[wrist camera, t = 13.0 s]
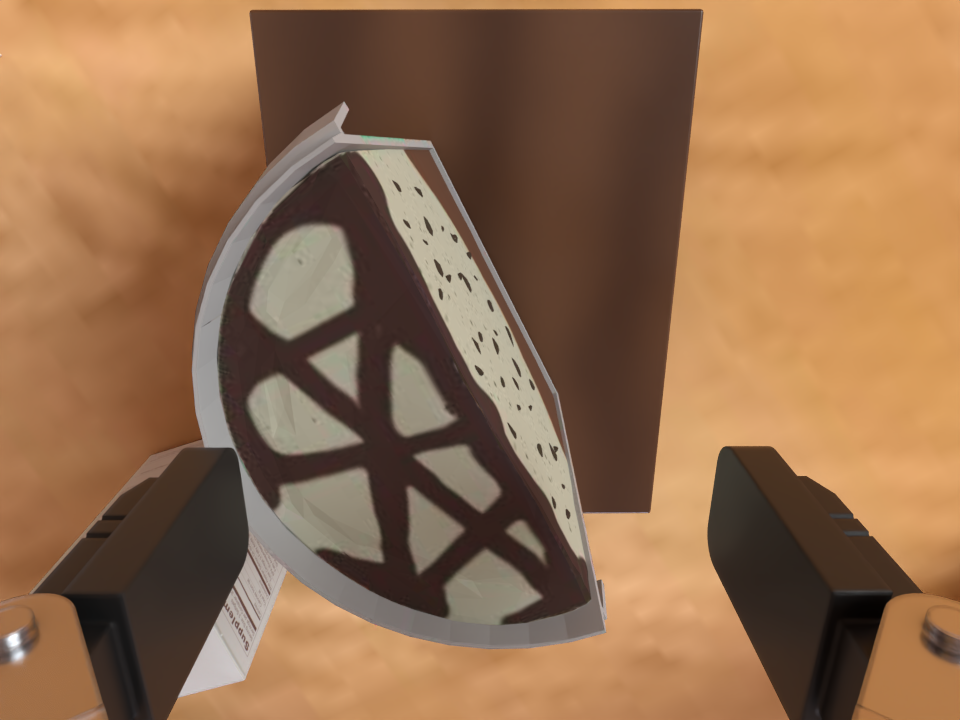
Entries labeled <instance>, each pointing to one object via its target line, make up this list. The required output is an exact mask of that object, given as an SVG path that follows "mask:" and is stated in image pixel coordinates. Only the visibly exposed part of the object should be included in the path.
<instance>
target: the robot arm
mask: <svg viewBox="0 0 960 720" xmlns="http://www.w3.org/2000/svg"><path fill="white" fill-rule="evenodd" d="M248 545H249V527H248V519H247V513H246V506H245V499H244V493H243V486H242V479H241V473H240V466H239V460H238V456H237V454H236V452H235V450H234V449H233V448H230V447H187V448H184V449H182V450H181V451H180V452H179V453H178V455H177V456H176V457H175V458H174V459H173V461H172V462H171V463H170V464H169V465H168V467H167V468H166V469H165V470H164V471H163V473H162V474H161V475H160V476H159V477H149V478H148V479H146V480H144V481H143V482H141V483H140V484H138V485H136V486H135V487H133V488H131V489H130V490H128V491H127V492H125V493H123V494H122V495H120V496H119V498H118V499H117V500H116V501H115V502H114V503H113V504H112V505H111V506H110V508H109V509H108V510H107V511H106V512H105V513H104V514H103V515H102V520H98V521H97V522H96V523H95V524H94V525H93V527H92V528H91V529H90V530H89V531H88V532H87V533H86V538H82V539H81V540H80V541H79V542H78V543H77V544H76V546H75V547H74V548H73V549H72V550H71V551H70V552H69V553H68V555H67V556H66V557H65V558H64V559H63V560H62V561H61V562H60V563H59V565H58V566H57V567H56V568H55V569H54V570H53V571H52V572H51V574H50V575H49V576H48V577H47V578H46V579H45V580H44V581H43V582H42V584H41V585H40V586H39V587H38V588H37V589H36V590H35V591H34V593H33V594H29V595H23V596H19V597H14V598H11V599H8V600H5V601H2V602H0V720H167V718H168V716H169V714H170V712H171V710H172V708H173V706H174V704H175V702H176V700H177V698H178V696H179V694H180V692H181V690H182V688H183V686H184V684H185V682H186V680H187V678H188V676H189V674H190V672H191V670H192V668H193V666H194V664H195V662H196V660H197V658H198V656H199V654H200V652H201V650H202V648H203V646H204V644H205V642H206V640H207V638H208V636H209V634H210V632H211V630H212V628H213V626H214V624H215V622H216V620H217V618H218V616H219V614H220V612H221V610H222V608H223V606H224V604H225V602H226V600H227V598H228V596H229V594H230V592H231V590H232V588H233V586H234V584H235V582H236V580H237V578H238V576H239V574H240V572H241V570H242V568H243V566H244V563H245V560H246V556H247V552H248ZM708 547H709V553H710V557H711V560H712V563H713V566H714V568H715V570H716V572H717V574H718V576H719V578H720V580H721V582H722V584H723V586H724V588H725V590H726V592H727V594H728V596H729V598H730V600H731V602H732V604H733V606H734V608H735V610H736V612H737V614H738V616H739V618H740V620H741V622H742V624H743V627H744V629H745V631H746V633H747V635H748V637H749V639H750V641H751V643H752V645H753V647H754V649H755V651H756V653H757V655H758V657H759V659H760V661H761V663H762V665H763V667H764V669H765V671H766V673H767V675H768V677H769V679H770V681H771V683H772V685H773V687H774V689H775V691H776V693H777V695H778V697H779V699H780V701H781V703H782V705H783V707H784V709H785V711H786V713H787V715H788V717H789V720H960V602H958V601H955V600H952V599H949V598H946V597H941V596H937V595H931V594H923V593H922V591H921V590H920V589H919V588H918V587H917V586H916V585H915V584H914V582H913V581H912V580H911V579H910V578H909V577H908V576H907V574H906V573H905V572H904V571H903V570H902V569H901V568H900V567H899V565H898V564H897V563H896V562H895V561H894V560H893V559H892V558H891V556H890V555H889V554H888V553H887V552H886V551H885V550H884V549H883V547H882V546H881V545H880V544H879V543H878V542H877V541H876V540H875V538H874V537H873V536H869V532H868V531H867V529H866V528H865V527H864V526H863V525H862V524H861V523H860V521H859V520H858V519H854V518H853V514H852V512H851V511H850V510H849V509H848V508H847V507H846V506H845V505H844V503H843V502H842V501H841V500H840V499H839V498H838V497H837V496H836V494H834V493H833V492H831V491H830V490H828V489H826V488H825V487H823V486H821V485H820V484H818V483H817V482H815V481H813V480H812V479H810V478H809V477H807V476H797V475H796V474H795V473H794V472H793V470H792V469H791V468H790V467H789V466H788V464H787V463H786V462H785V461H784V460H783V458H782V457H781V456H780V455H779V454H778V452H777V451H776V450H775V449H774V448H772V447H770V446H725V447H723V448H722V449H721V451H720V453H719V456H718V461H717V467H716V474H715V481H714V488H713V494H712V501H711V508H710V515H709V522H708Z"/></svg>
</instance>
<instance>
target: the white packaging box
mask: <svg viewBox="0 0 960 720" xmlns="http://www.w3.org/2000/svg"><path fill="white" fill-rule="evenodd" d="M187 447H204V443H203V439H202V440H198V441H195V442H192V443H189V444H185V445H182V446H179V447H176V448H173V449H169V450H166V451H163V452H160V453H157V454H153V455H150V456H149V458H148V459H147V460H146V461H145V462H144V464H143V465H142V466H141V467H140V468H139V469H138V470H137V471H136V472H135V474H134V475H133V476H132V477H131V478H130V479H129V481H128V482H127V483H126V484H125V485H124V486H123V487H122V489H121V490H120V491H119V492H118V493H117V494H116V495H115V496H114V498H113V499H112V500H111V501H110V502H109V503H108V504H107V506H106V507H105V508H104V509H103V510H102V511H101V512H100V513H99V514H98V516H97V517H96V518H95V519H94V520H93V521H92V523H91V524H90V525H89V526H88V527H87V528H86V529H85V531H84V532H83V533H82V534H81V535H80V536H79V537H78V538H77V540H76V541H75V542H74V543H73V544H72V545H71V546H70V547H69V549H68V550H67V551H66V552H65V553H64V554H63V555H62V557H61V558H60V559H59V560H58V561H57V562H56V563H55V565H54V566H53V567H52V568H51V569H50V570H49V571H48V572H47V573H46V575H45V576H44V577H43V578H42V579H41V580H40V581H39V583H38V584H37V585H36V586H35V587H34V588H33V589H32V591H31V592H30V593H29V594H33V593H34V591H35V590H36V589H37V588H38V587H39V586H40V585H41V584H42V582H43V581H44V580H45V579H46V578H47V577H48V576H49V575H50V574H51V572H52V571H53V570H54V569H55V568H56V567H57V566H58V565H59V563H60V562H61V561H62V560H63V559H64V558H65V557H66V556H67V555H68V553H69V552H70V551H71V550H72V549H73V548H74V547H75V546H76V544H77V543H78V542H79V541H80V540H81V539H82V538H86V533H87V532H88V531H89V530H90V529H91V528H92V527H93V525H94V524H95V523H96V522H97V521H98V520H102V515H103V514H104V513H105V512H106V511H107V510H108V509H109V508H110V506H111V505H112V504H113V503H114V502H115V501H116V500H117V499H118V498H119V496H120V495H122V494H123V493H125V492H127V491H128V490H130V489H131V488H133V487H135V486H136V485H138V484H140V483H141V482H143V481H144V480H146V479H148V478H149V477H159V476H160V475H161V474H162V473H163V471H164V470H165V469H166V468H167V467H168V465H169V464H170V463H171V462H172V461H173V459H174V458H175V457H176V456H177V455H178V453H179V452H180V451H181V450H182V449H184V448H187ZM286 572H287V569H285V568H284V567H283V566H282V565H281V564H280V563H279V562H277V561H276V560H275V559H274V558H273V557H272V556H271V555H270V554H269V553H268V552H267V550H266V549H265V548H264V547H263V546H262V545H261V544H260V542H259V541H258V540H257V539H256V538H255V537H254V535H253V534H252V533H251V532H250V531H249V545H248V552H247V556H246V560H245V563H244V566H243V568H242V570H241V572H240V574H239V576H238V578H237V580H236V582H235V584H234V586H233V588H232V590H231V592H230V594H229V596H228V598H227V600H226V602H225V604H224V606H223V608H222V610H221V612H220V614H219V616H218V618H217V620H216V622H215V624H214V626H213V628H212V630H211V632H210V634H209V636H208V638H207V640H206V642H205V644H204V646H203V648H202V650H201V652H200V654H199V656H198V658H197V660H196V662H195V664H194V666H193V668H192V670H191V672H190V674H189V676H188V678H187V680H186V682H185V684H184V686H183V688H182V690H181V692H180V694H179V696H178V698H179V697H183V696H186V695H190V694H194V693H198V692H201V691H205V690H209V689H213V688H217V687H221V686H224V685H228V684H232V683H236V682H240V681H243V680H245V679H246V676H247V673H248V670H249V668H250V665H251V663H252V660H253V657H254V655H255V652H256V650H257V647H258V645H259V642H260V639H261V637H262V634H263V632H264V629H265V627H266V624H267V621H268V619H269V616H270V614H271V611H272V609H273V606H274V603H275V600H276V598H277V595H278V593H279V590H280V588H281V585H282V583H283V580H284V577H285V575H286ZM29 594H28V595H29Z"/></svg>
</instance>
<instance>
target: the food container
mask: <svg viewBox="0 0 960 720" xmlns="http://www.w3.org/2000/svg"><path fill="white" fill-rule="evenodd" d="M348 111H349V109H348V107H347V105H346V104H345V102H343V103H341V104H340V105H338V106H337V107H336V108H334V109H333V110H331V111H330V112H328V113H327V114H326V115H324V116H323V117H321V118H320V119H319V120H317V121H316V122H314V123H313V124H311V125H310V126H309V127H307V128H306V129H304V130H303V131H302V132H301V133H300V134H299V135H298V136H297V137H296V138H295V139H294V140H293V141H292V142H291V143H290V144H289V145H288V146H287V147H286V148H285V149H284V150H283V151H282V152H281V153H280V154H279V155H278V156H277V157H276V158H275V159H274V160H273V161H272V162H271V163H270V164H269V165H268V167H267V168H266V170H265V171H264V172H263V174H262V175H261V177H260V178H259V179H258V181H257V182H256V184H255V185H254V187H253V188H252V189H251V191H250V192H249V194H248V195H247V196H246V198H245V199H244V201H243V202H242V203H241V205H240V206H239V208H238V209H237V211H236V212H235V214H234V215H233V217H232V218H231V220H230V221H229V223H228V225H227V227H226V229H225V231H224V233H223V235H222V237H221V239H220V241H219V243H218V246H217V248H216V250H215V252H214V254H213V256H212V258H211V260H210V262H209V264H208V267H207V271H206V274H205V278H204V282H203V286H202V289H201V293H200V297H199V300H198V304H197V308H196V314H195V325H194V336H193V347H192V361H193V363H192V378H193V389H194V400H195V411H196V416H197V420H198V424H199V428H200V431H201V435H202V439H203V443H204V447H230V448H233V449H234V450H235V452H236V454H237V456H238V460H239V466H240V473H241V479H242V486H243V493H244V499H245V506H246V513H247V519H248V527H249V531H250V532H251V533H252V534H253V535H254V537H255V538H256V539H257V540H258V541H259V542H260V544H261V545H262V546H263V547H264V548H265V549H266V550H267V552H268V553H269V554H270V555H271V556H272V557H273V558H274V559H275V560H276V561H277V562H279V563H280V564H281V565H282V566H283V567H284V568H285V569H287V570H288V571H289V572H290V573H291V574H292V575H293V576H295V577H296V578H297V579H298V580H299V581H300V582H301V583H303V584H304V585H306V586H307V587H309V588H310V589H312V590H313V591H315V592H316V593H318V594H319V595H321V596H322V597H324V598H325V599H327V600H328V601H330V602H331V603H333V604H334V605H336V606H338V607H340V608H342V609H344V610H346V611H348V612H350V613H352V614H354V615H356V616H358V617H360V618H362V619H364V620H366V621H368V622H370V623H373V624H375V625H378V626H381V627H384V628H387V629H390V630H393V631H395V632H398V633H401V634H404V635H407V636H410V637H414V638H419V639H423V640H428V641H432V642H437V643H442V644H446V645H453V646H463V647H473V648H483V649H515V648H534V647H541V646H548V645H555V644H562V643H568V642H573V641H577V640H581V639H584V638H588V637H592V636H596V635H599V634H603V633H606V628H605V622H604V620H606V619H607V614H606V603H605V591H604V584H603V582H602V580H598V581H596V576H595V571H594V566H593V561H592V556H591V552H590V547H589V542H588V537H587V532H586V527H585V522H584V517H583V513H582V508H581V503H580V498H579V493H578V488H577V483H576V478H575V473H574V469H573V464H572V459H571V454H570V449H569V444H568V439H567V434H566V430H565V425H564V420H563V415H562V410H561V405H560V400H559V395H558V393H557V391H556V389H555V387H554V385H553V383H552V381H551V379H550V377H549V375H548V373H547V371H546V369H545V367H544V365H543V363H542V361H541V359H540V357H539V355H538V353H537V351H536V349H535V347H534V345H533V343H532V341H531V339H530V337H529V335H528V333H527V331H526V329H525V327H524V325H523V323H522V321H521V319H520V317H519V315H518V313H517V311H516V309H515V307H514V305H513V303H512V302H511V300H510V298H509V296H508V294H507V292H506V290H505V288H504V286H503V284H502V282H501V280H500V278H499V276H498V274H497V272H496V270H495V268H494V266H493V264H492V262H491V260H490V258H489V256H488V254H487V252H486V250H485V248H484V246H483V244H482V242H481V240H480V238H479V236H478V234H477V232H476V230H475V228H474V226H473V224H472V222H471V220H470V218H469V216H468V214H467V212H466V210H465V208H464V206H463V204H462V202H461V200H460V198H459V196H458V194H457V192H456V190H455V188H454V186H453V184H452V182H451V180H450V178H449V176H448V174H447V172H446V170H445V168H444V166H443V165H442V163H441V161H440V159H439V157H438V155H437V153H436V151H435V149H434V147H433V145H432V143H431V141H427V140H414V139H401V138H388V137H375V136H362V135H348V134H344V132H343V131H342V129H341V126H342V123H343V121H344V119H345V117H346V115H347V113H348Z"/></svg>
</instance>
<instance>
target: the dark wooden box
mask: <svg viewBox="0 0 960 720" xmlns="http://www.w3.org/2000/svg"><path fill="white" fill-rule="evenodd" d="M702 21H703V10H701V9H452V10H251V11H250V22H251V31H252V40H253V48H254V57H255V66H256V75H257V84H258V92H259V101H260V110H261V119H262V128H263V137H264V145H265V154H266V163H267V167H268V165H269V164H270V163H271V162H272V161H273V160H274V159H275V158H276V157H277V156H278V155H279V154H280V153H281V152H282V151H283V150H284V149H285V148H286V147H287V146H288V145H289V144H290V143H291V142H292V141H293V140H294V139H295V138H296V137H297V136H298V135H299V134H300V133H301V132H302V131H303V130H304V129H306V128H307V127H309V126H310V125H311V124H313V123H314V122H316V121H317V120H319V119H320V118H321V117H323V116H324V115H326V114H327V113H328V112H330V111H331V110H333V109H334V108H336V107H337V106H338V105H340V104H341V103H343V102H345V104H346V105H347V107H348V109H349V111H348V113H347V115H346V117H345V119H344V121H343V123H342V126H341V129H342V131H343V132H344V134H348V135H362V136H375V137H388V138H401V139H414V140H427V141H431V143H432V145H433V147H434V149H435V151H436V153H437V155H438V157H439V159H440V161H441V163H442V165H443V166H444V168H445V170H446V172H447V174H448V176H449V178H450V180H451V182H452V184H453V186H454V188H455V190H456V192H457V194H458V196H459V198H460V200H461V202H462V204H463V206H464V208H465V210H466V212H467V214H468V216H469V218H470V220H471V222H472V224H473V226H474V228H475V230H476V232H477V234H478V236H479V238H480V240H481V242H482V244H483V246H484V248H485V250H486V252H487V254H488V256H489V258H490V260H491V262H492V264H493V266H494V268H495V270H496V272H497V274H498V276H499V278H500V280H501V282H502V284H503V286H504V288H505V290H506V292H507V294H508V296H509V298H510V300H511V302H512V303H513V305H514V307H515V309H516V311H517V313H518V315H519V317H520V319H521V321H522V323H523V325H524V327H525V329H526V331H527V333H528V335H529V337H530V339H531V341H532V343H533V345H534V347H535V349H536V351H537V353H538V355H539V357H540V359H541V361H542V363H543V365H544V367H545V369H546V371H547V373H548V375H549V377H550V379H551V381H552V383H553V385H554V387H555V389H556V391H557V393H558V395H559V400H560V405H561V410H562V415H563V420H564V425H565V430H566V434H567V439H568V444H569V449H570V454H571V459H572V464H573V469H574V473H575V478H576V483H577V488H578V493H579V498H580V503H581V508H582V513H650V510H651V501H652V491H653V482H654V473H655V463H656V454H657V444H658V435H659V425H660V416H661V407H662V397H663V388H664V378H665V369H666V360H667V350H668V341H669V331H670V322H671V313H672V303H673V294H674V284H675V275H676V265H677V256H678V247H679V237H680V228H681V218H682V209H683V200H684V190H685V181H686V171H687V162H688V153H689V143H690V134H691V124H692V115H693V106H694V96H695V87H696V77H697V68H698V58H699V49H700V40H701V30H702Z"/></svg>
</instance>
